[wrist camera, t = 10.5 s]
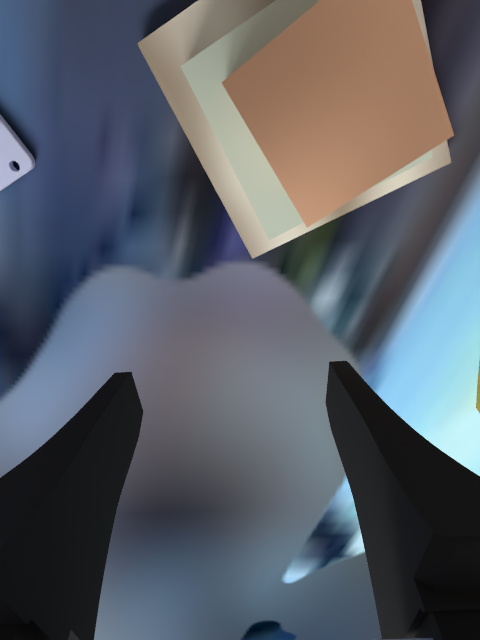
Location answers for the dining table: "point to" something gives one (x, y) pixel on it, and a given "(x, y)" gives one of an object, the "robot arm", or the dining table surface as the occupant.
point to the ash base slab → (165, 60)
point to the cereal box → (478, 391)
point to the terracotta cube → (341, 101)
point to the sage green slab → (230, 125)
